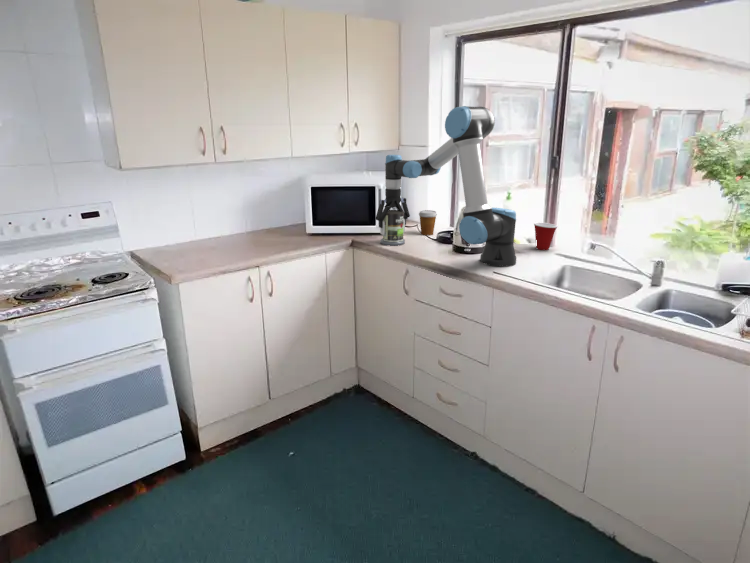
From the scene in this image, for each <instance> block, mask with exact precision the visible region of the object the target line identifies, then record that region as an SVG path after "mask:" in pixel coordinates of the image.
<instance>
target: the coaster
mask: <svg viewBox="0 0 750 563" xmlns="http://www.w3.org/2000/svg"><path fill="white" fill-rule="evenodd" d="M405 242H406V239H404V238H403V241H400V242H387V241H384V240H383V237H382V238H380V245H383V244H384V246H387V245H390V246H389V247H398V245H399V246H403V245H404V244H405Z"/></svg>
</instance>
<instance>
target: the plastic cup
mask: <svg viewBox="0 0 750 563" xmlns="http://www.w3.org/2000/svg"><path fill="white" fill-rule="evenodd" d="M533 225H534V231H535V232H534V233H535V234H534V237H535V241H536V240H537V246H536V245H535V247H536V248H537V249H536V248H535V249H536V250H539V251H548V250H549V249H550V247H551V244H552V241H553V238H554V234H555V232H556V229H557V228H558V225H557V224H554V223H553V224H552V223H549V222H548V223H547V222H536V221H535V222H533Z"/></svg>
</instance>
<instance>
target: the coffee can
mask: <svg viewBox="0 0 750 563" xmlns="http://www.w3.org/2000/svg"><path fill="white" fill-rule="evenodd" d="M383 221H384V222H385V235H382V238H383V240H384V241H387V242H400V241H403V239H404V232H403V223H404V210H403V211H402V212H400V211H398V209H390V210H389V211H388V213H386V216H385V218H384V220H383Z"/></svg>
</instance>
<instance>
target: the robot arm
mask: <svg viewBox="0 0 750 563" xmlns="http://www.w3.org/2000/svg"><path fill="white" fill-rule="evenodd" d="M447 114H448V115H447V116H446V118H445V121H444V130H445V133H446V134H447V135H448V137H449V140H447V141H446V142H445V143H443V144H442V145H441V146H440V147H438V148H437V149H436V150H435V151H433V152H432V153H431V154H430V155H428V156H427V157H426V158H423V159H414V160H413V159H412V160H410V159H409V160H404V159H403V158H402V155H401V154H388V155H386V156H385V163H384V165H385V166H384V167H385V169H384V170H385V173H384V174H385V178H384V179H385V180H384V181H385V184H384V186H385V190H384V191H385V193H384V194H385V199H379V204H378V205H379V206H378V209H377V213H376V215H375V220H376V221H378V228H379V229H380V231H379V232H380V235H382V236H383V235H385V222H384V221H383V220H384V218H385V216H386V213H388V211H389V210H391V209H393V208H396V210H398V211H400V212H402V211H404V223H403V233H406V232H405V231H406V225H407V220H408V218H410V217H411V214H410V212H409V208H408V204H407V198H406V197H401V196H402V189H401V188H402V178H408V179H417V178H418V177H424V176H425V177H426V176H434V175H438V174H439V173H440V172H441V171H440V170H441V168H443V166H445V165H446V164H447V163H449V162H450V161H451V160H452V159H454V158H456V156H458V157H459V167H460V173H461V180H462V188H463V195H464V202H465V209H464V211H463V212H462V215H463V218H462V219H461V220H460V222H459V225H458V229H459V234H460V235H461V238H462V239H463V240H464V241H465V242H466V243H468V244H469V245H470V244H471V245H482V244H484V243H485V244H484V246H483V249H482V251H481V252H482V253H481V254H480V260H479V261H480V263H482V264H484V265H487V266H490V267H491V266H493V267H510V266H514V265H516V264H517V256H516V250H515V246H514V244H515V243H514V242H515V233H516V222H517V213H516V211H515V210H512V209H508V208H501V207H491V206H490V205H489V204H488V197H487V191H486V181H485V177H484V176H485V175H484V167H483V160H482V152H481V142H482V141H483V140H484V139H485V138H486V137H488V136H489V135H490V134H491V133H492V131H493V130H494V127H495V123H496V122H495V121H496V120H495V117H494V116H495V115H494V114H493V112H492V111H491V110H490V109H489V108H487V107H484V106H470V105H469V106H466V105H463V106H457V107H454V108H452V109H451V110H450V111H449V112H448V113H447Z"/></svg>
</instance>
